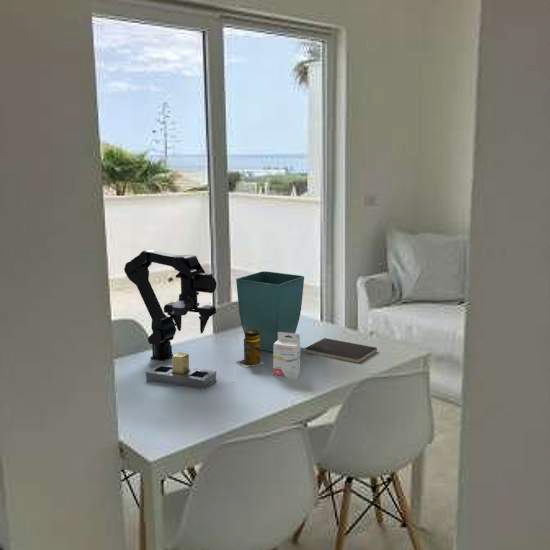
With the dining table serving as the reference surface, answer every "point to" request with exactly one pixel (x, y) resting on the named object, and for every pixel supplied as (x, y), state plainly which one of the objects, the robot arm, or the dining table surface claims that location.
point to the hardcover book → (341, 350)
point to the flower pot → (270, 304)
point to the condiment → (251, 349)
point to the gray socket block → (181, 376)
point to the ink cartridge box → (286, 355)
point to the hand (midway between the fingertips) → (190, 332)
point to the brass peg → (180, 363)
